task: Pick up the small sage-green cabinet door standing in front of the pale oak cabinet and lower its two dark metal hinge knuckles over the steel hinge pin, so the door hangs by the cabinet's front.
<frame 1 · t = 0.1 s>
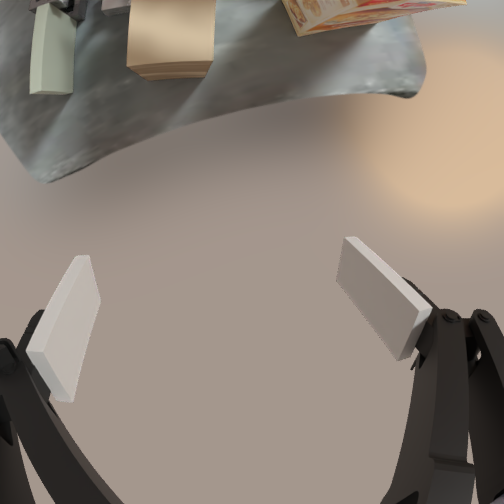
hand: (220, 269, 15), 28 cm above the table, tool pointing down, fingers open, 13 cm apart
coffeecake box: (332, 10, 31), on the table
door: (69, 57, 27), on the table
cabinet: (177, 28, 29), on the table
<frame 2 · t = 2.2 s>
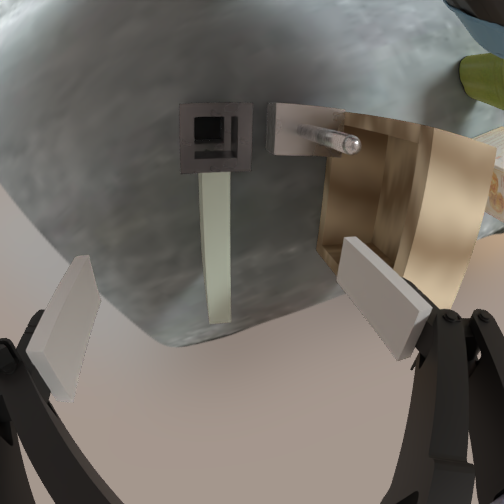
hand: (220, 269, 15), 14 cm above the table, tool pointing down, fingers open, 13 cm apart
plant pot: (470, 77, 25), on the table
coffeecake box: (479, 157, 31), on the table
door: (207, 206, 28), on the table
cabinet: (355, 184, 29), on the table
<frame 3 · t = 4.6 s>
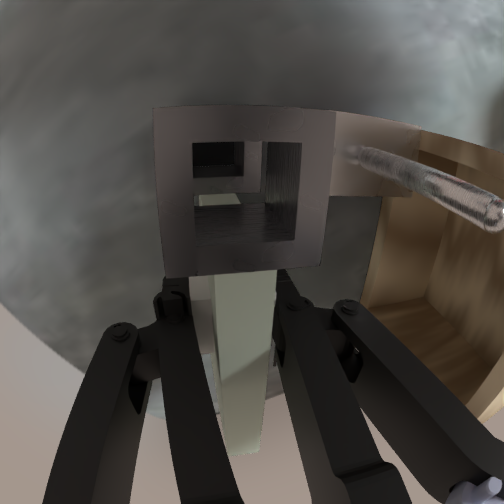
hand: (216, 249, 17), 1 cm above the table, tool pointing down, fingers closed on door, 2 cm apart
door: (214, 265, 19), on the table, touching gripper
cabinet: (413, 226, 21), on the table
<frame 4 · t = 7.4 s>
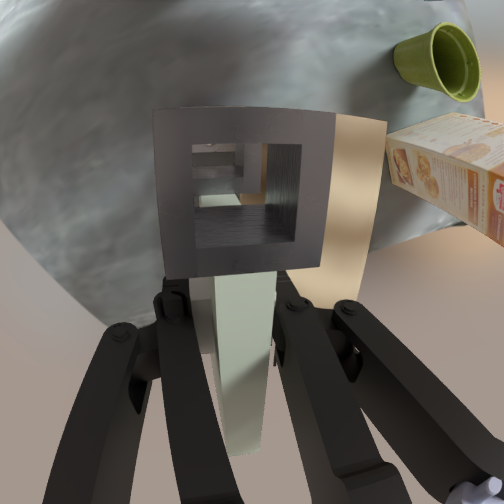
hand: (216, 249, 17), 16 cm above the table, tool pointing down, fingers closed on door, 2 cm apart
plant pot: (409, 62, 28), on the table
coffeecake box: (424, 144, 34), on the table
door: (215, 266, 19), point 15 cm above the table, touching gripper
cabinet: (273, 176, 32), on the table
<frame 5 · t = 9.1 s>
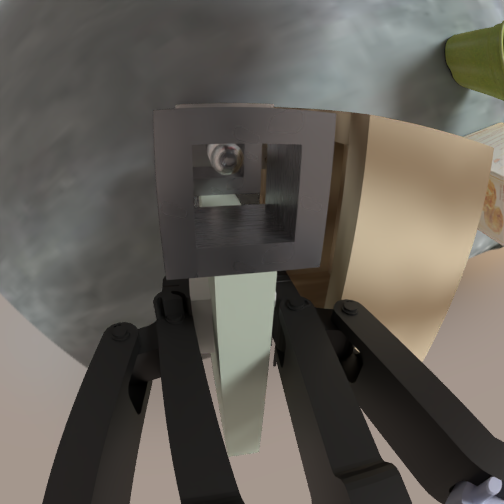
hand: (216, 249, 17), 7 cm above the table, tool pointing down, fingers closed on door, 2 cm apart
plant pot: (460, 61, 20), on the table
coffeecake box: (472, 159, 26), on the table
door: (215, 266, 19), point 6 cm above the table, touching gripper
cabinet: (303, 200, 24), on the table
when the fingers open (6 cm above the table, at t = 10.4 s): door drops 2 cm, resting on cabinet.
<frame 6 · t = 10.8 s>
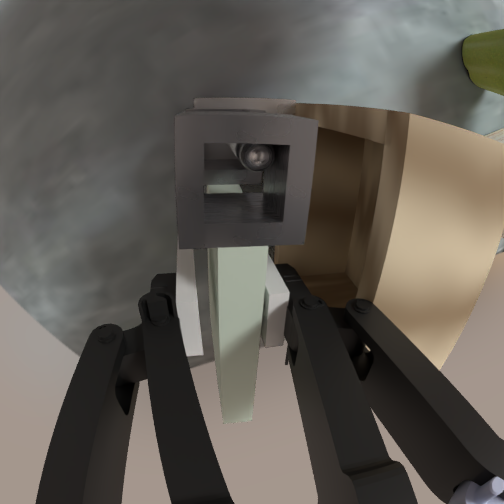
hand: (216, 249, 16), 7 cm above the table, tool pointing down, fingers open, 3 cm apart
plant pot: (476, 61, 19), on the table
door: (219, 249, 21), point 3 cm above the table, touching cabinet, gripper
cabinet: (322, 200, 23), on the table
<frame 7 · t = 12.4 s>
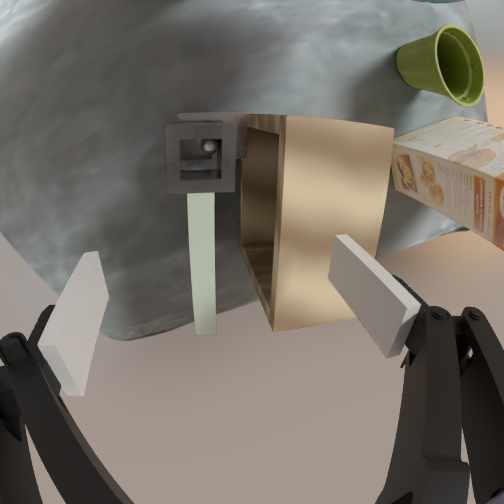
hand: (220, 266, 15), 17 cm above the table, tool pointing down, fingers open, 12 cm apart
plant pot: (412, 66, 28), on the table
coffeecake box: (428, 149, 33), on the table
door: (196, 219, 28), point 3 cm above the table, touching cabinet
cabinet: (275, 184, 31), on the table
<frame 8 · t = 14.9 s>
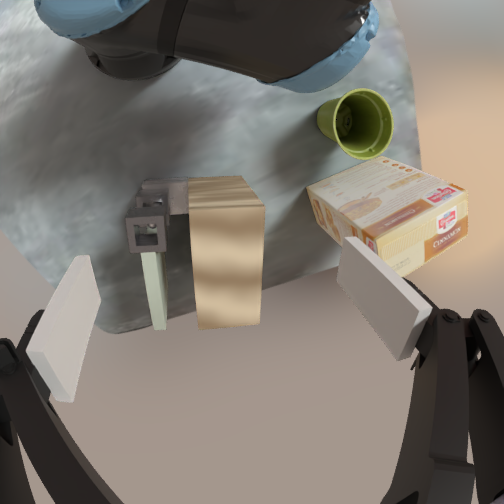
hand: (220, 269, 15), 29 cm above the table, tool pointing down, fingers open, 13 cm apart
plant pot: (334, 119, 40), on the table
coffeecake box: (349, 188, 46), on the table
door: (159, 253, 41), point 3 cm above the table, touching cabinet
cabinet: (215, 225, 44), on the table
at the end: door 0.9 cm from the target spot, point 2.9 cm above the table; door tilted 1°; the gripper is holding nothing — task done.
